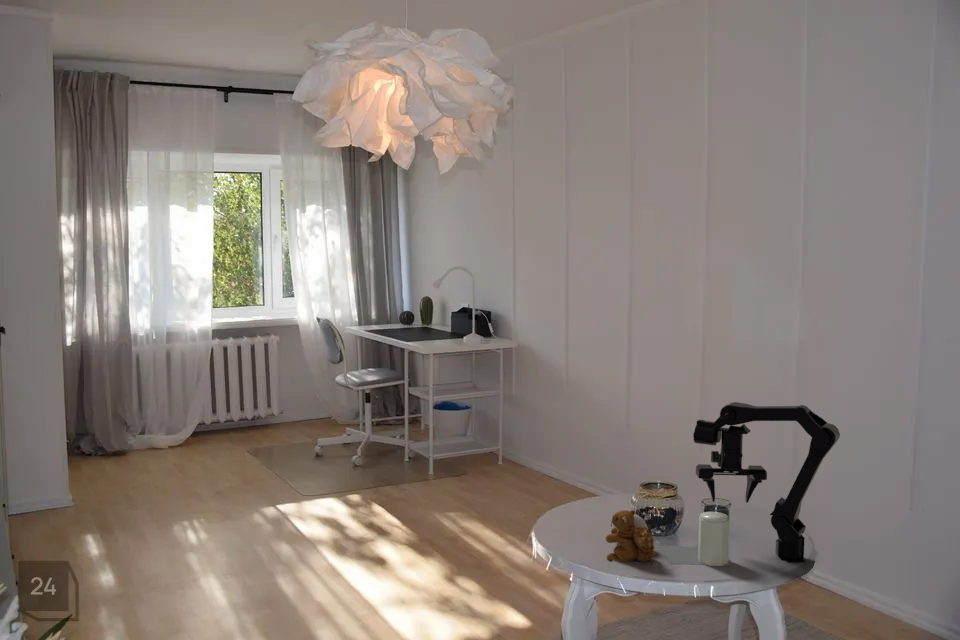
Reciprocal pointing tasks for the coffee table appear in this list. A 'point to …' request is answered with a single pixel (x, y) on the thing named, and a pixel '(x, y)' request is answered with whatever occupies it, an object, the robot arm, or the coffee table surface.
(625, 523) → the stuffed squirrel
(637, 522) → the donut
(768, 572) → the coffee table surface
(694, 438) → the robot arm
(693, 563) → the slate mat
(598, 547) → the coffee table surface
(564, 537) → the coffee table surface
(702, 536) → the pale green faceted cylinder
